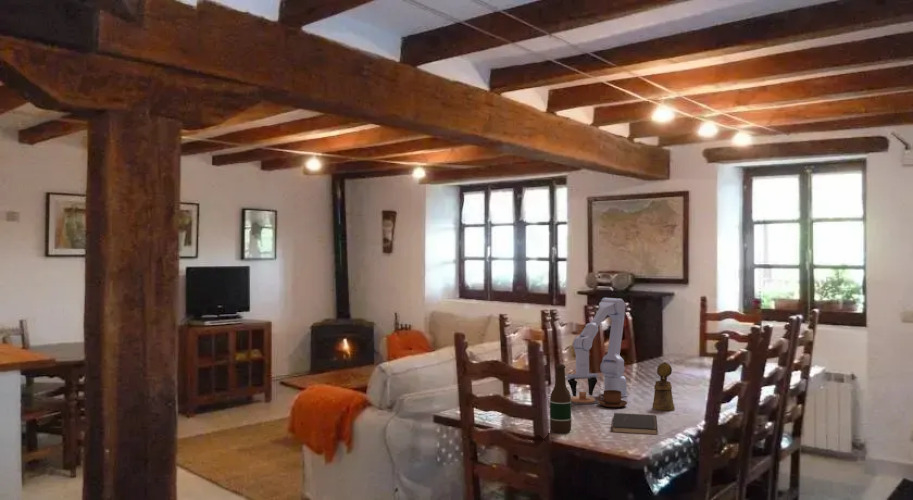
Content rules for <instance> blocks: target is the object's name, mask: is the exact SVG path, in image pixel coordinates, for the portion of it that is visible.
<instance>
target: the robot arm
mask: <svg viewBox="0 0 913 500" xmlns="http://www.w3.org/2000/svg"><path fill="white" fill-rule="evenodd" d="M625 314H626V303H625V301H624V300H623V298H614V297H603V298H602V299H601V300H600V302H599V304H598V310H597V312H596V313H595V315H594V317H593V319H592V320H591V322H588V323H586V324H585V327H584V328H583V329H582V331H581V333H580V334H579V335H578V336H575V338H574V339H573V342H572V347H573V348H574V353H575V373H571V374H570V373H569V374H565V380H567V383H568V384H569V387H570V390H571V395H572V397H574V396H577V386H578V381H577V380H584V379H587V385H588V395H589V396H593V394H594V390H595V386H596V385H597V383H598V379H599V373H595V372H594V373H591V372H590V350H591V348H592V346H593V341H594V339H595V337H596V336H597V334H598V332H599V326H600V325H601V324H602V322H603V321H604V320H605V319H606V318H607V316H609V318H610V319H611V322H610V323H611V324H610V332H609V340H608V346H607V354H605V355H604V356H603V357H602V360H601V363H600V366H599V368H600V372H601V373H602V376H604V378H603V379H604V381H603V385H604V389H603V392H601V393H600V394H604V391H606V390H617V391H621V398H622V397H623V398H624V397H628V394H627V390H628V389H627V379H626V377H625V376H624V372H625V360H624V358H622V356H621V355H620V353H621V348H622V346H621V345H622V339H623V333H624V322H625Z"/></svg>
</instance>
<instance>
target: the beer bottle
mask: <svg viewBox="0 0 913 500" xmlns="http://www.w3.org/2000/svg"><path fill="white" fill-rule="evenodd" d="M554 368H555V383H554V388H553V389H552V391H551V393H550V396H549V397H550V399H549V411H550V412H549V421H550V422H549V428H550V429H549V430H550V432H552V433H554V434H569V433H570V432H571V431H572V403H571V397H572V396H571V395H572V394H571V393H570V390H569V389H568V387H567V383H566V365H565V364H562V363H561V364H559V363H558V364H556V365H555V367H554Z"/></svg>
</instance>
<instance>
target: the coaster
mask: <svg viewBox="0 0 913 500" xmlns="http://www.w3.org/2000/svg"><path fill="white" fill-rule="evenodd" d="M598 401H599V400H598V399H596V401H595V402H592V403H576V402H572V401H571V404H573V405H575V406H582V405H595V404H596V405H600V404H599V403H598Z"/></svg>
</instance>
